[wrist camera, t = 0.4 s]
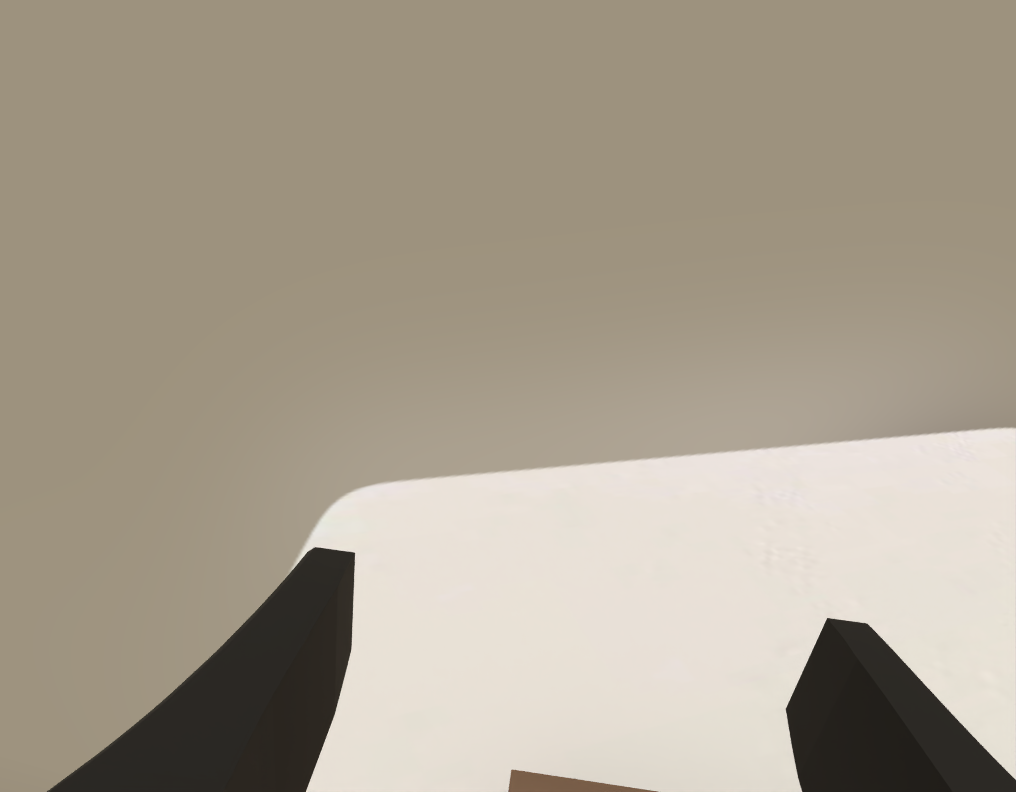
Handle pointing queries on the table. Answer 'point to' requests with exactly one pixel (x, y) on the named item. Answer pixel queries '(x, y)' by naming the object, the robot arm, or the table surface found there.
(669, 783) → the table surface
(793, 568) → the table surface
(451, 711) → the table surface
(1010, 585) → the table surface
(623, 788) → the walnut platform
